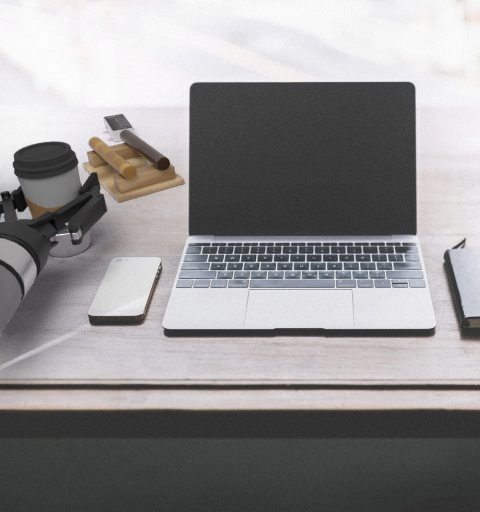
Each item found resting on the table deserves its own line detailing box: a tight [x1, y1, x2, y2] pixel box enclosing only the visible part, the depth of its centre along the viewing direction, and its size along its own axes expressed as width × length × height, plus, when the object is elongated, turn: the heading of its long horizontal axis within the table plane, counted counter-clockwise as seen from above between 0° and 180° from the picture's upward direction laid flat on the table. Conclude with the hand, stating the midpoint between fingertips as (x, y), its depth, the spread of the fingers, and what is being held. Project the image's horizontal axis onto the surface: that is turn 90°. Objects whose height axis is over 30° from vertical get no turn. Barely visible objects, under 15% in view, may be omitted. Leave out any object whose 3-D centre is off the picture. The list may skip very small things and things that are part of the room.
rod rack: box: [82, 129, 185, 204], centre depth 112 cm, size 19×12×6 cm, turn 35°
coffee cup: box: [12, 140, 92, 258], centre depth 87 cm, size 8×8×15 cm
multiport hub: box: [102, 113, 136, 143], centre depth 132 cm, size 4×11×2 cm, turn 27°
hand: (65, 182), depth 91 cm, fingers closed on coffee cup, 8 cm apart
